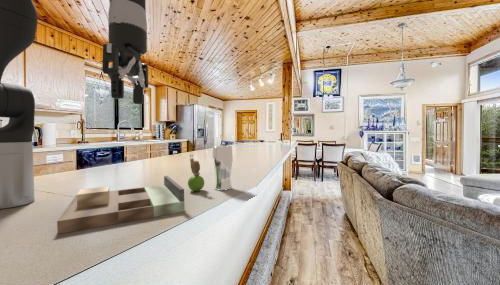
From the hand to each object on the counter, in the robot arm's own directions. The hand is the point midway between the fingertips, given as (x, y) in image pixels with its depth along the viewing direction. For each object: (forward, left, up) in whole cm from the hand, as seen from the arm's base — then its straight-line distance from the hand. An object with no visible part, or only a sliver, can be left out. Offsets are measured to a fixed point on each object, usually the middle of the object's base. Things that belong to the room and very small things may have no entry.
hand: (128, 101), depth 50 cm
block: (-11, 0, -24) cm, 27 cm away
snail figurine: (+3, +25, -27) cm, 37 cm away
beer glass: (+11, +30, -27) cm, 42 cm away
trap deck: (-6, +5, -27) cm, 28 cm away
